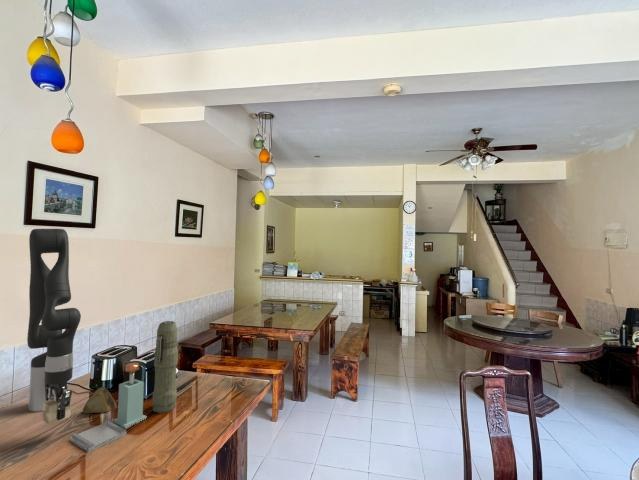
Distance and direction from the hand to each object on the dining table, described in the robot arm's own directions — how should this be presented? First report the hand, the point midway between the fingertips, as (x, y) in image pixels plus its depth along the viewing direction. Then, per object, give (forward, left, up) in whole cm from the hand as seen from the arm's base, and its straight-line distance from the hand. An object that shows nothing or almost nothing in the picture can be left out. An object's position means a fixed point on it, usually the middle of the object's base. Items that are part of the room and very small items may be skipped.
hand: (56, 416), depth 111 cm
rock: (-8, +17, -7) cm, 21 cm away
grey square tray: (+12, +7, -7) cm, 16 cm away
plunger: (+10, +19, +1) cm, 22 cm away
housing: (0, 0, -1) cm, 1 cm away
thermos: (+12, +32, -7) cm, 36 cm away
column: (+10, +19, -7) cm, 23 cm away
